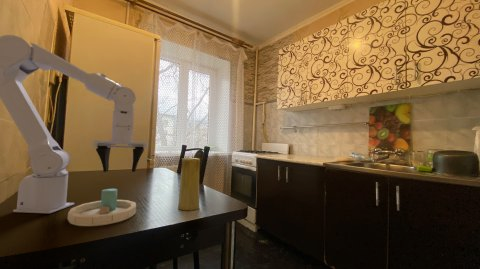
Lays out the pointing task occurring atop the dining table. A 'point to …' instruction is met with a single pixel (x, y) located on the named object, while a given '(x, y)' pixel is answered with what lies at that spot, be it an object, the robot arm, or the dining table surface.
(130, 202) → the ring tray
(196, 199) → the vase
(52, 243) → the dining table surface
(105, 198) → the teal green block
